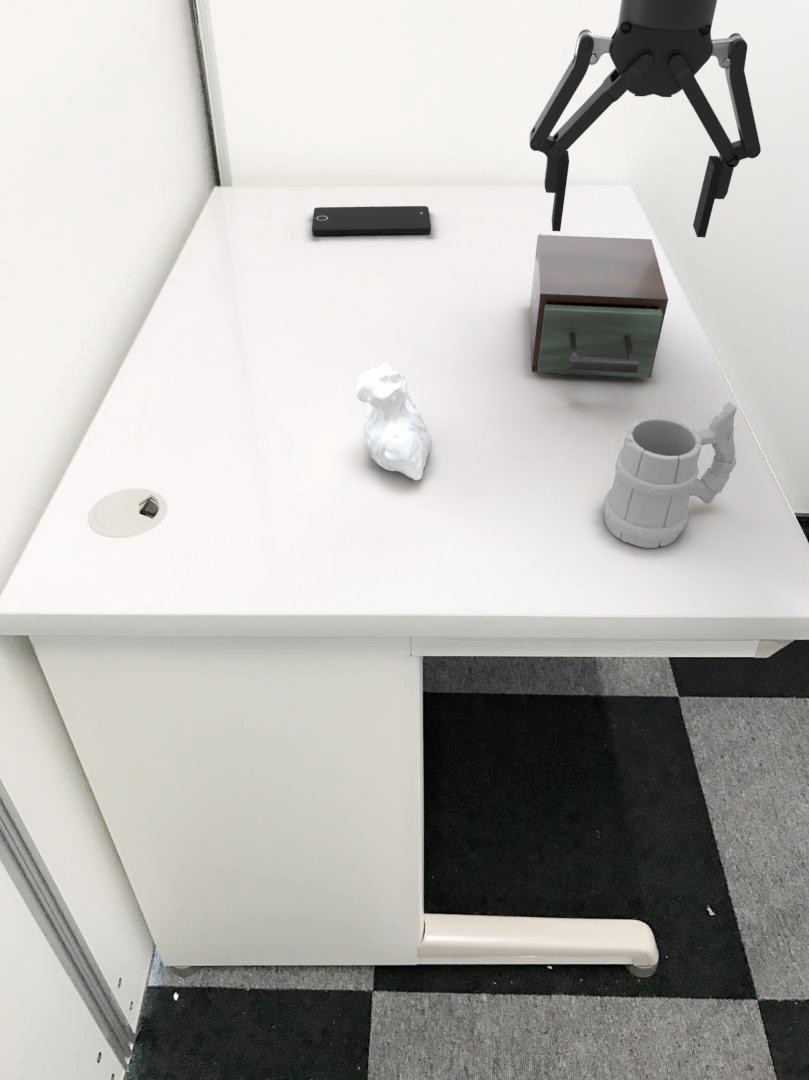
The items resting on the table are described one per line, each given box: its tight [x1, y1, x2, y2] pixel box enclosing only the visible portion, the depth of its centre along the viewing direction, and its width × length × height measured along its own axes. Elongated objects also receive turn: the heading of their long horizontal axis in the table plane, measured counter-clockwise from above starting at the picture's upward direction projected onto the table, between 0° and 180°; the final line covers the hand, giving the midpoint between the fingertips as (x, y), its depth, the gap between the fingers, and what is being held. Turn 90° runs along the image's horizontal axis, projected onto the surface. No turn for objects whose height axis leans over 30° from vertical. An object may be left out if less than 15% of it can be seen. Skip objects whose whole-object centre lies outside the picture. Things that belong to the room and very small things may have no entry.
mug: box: [603, 402, 738, 549], centre depth 76 cm, size 8×12×12 cm, turn 106°
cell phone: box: [311, 205, 432, 236], centre depth 131 cm, size 9×18×1 cm, turn 92°
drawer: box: [537, 301, 663, 378], centre depth 97 cm, size 21×13×8 cm, turn 174°
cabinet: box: [529, 234, 669, 378], centre depth 102 cm, size 16×14×10 cm
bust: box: [355, 362, 433, 481], centre depth 84 cm, size 12×8×11 cm
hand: (626, 228), depth 82 cm, fingers open, 13 cm apart
